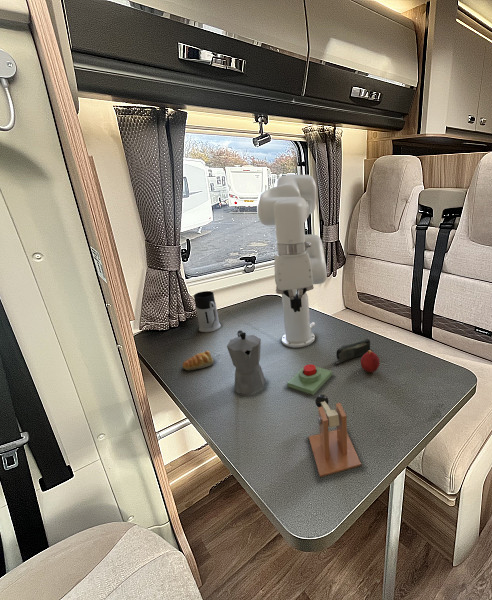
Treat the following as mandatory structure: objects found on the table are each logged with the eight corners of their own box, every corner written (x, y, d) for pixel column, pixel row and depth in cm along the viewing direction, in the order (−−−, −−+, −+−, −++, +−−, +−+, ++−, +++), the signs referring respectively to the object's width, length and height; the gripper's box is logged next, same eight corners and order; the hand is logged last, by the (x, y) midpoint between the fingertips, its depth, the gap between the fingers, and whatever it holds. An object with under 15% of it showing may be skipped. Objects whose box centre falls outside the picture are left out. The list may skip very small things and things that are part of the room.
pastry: (186, 374, 101) (184, 364, 100) (180, 366, 106) (178, 356, 105) (215, 364, 107) (213, 354, 105) (209, 356, 112) (207, 346, 110)
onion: (368, 365, 104) (369, 343, 101) (382, 372, 100) (383, 349, 97) (357, 372, 100) (356, 350, 97) (371, 380, 96) (371, 357, 93)
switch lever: (314, 406, 78) (313, 394, 78) (327, 404, 79) (325, 391, 79) (327, 430, 66) (325, 415, 65) (342, 426, 66) (340, 412, 66)
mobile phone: (366, 336, 112) (331, 348, 104) (372, 339, 110) (337, 352, 102) (366, 349, 114) (332, 361, 106) (371, 352, 112) (337, 365, 104)
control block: (308, 369, 102) (307, 359, 101) (332, 377, 98) (331, 366, 97) (287, 388, 93) (286, 377, 92) (313, 397, 89) (312, 385, 88)
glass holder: (215, 321, 140) (209, 289, 134) (230, 331, 130) (224, 297, 125) (195, 327, 134) (188, 294, 129) (209, 338, 124) (202, 303, 119)
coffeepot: (271, 394, 91) (264, 339, 84) (237, 404, 87) (228, 347, 81) (260, 367, 104) (253, 318, 98) (230, 375, 100) (221, 324, 94)
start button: (308, 368, 97) (307, 363, 96) (318, 371, 95) (317, 366, 94) (301, 374, 94) (301, 369, 93) (311, 377, 92) (311, 372, 92)
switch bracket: (308, 440, 75) (305, 399, 70) (345, 431, 77) (344, 391, 73) (320, 480, 65) (317, 435, 60) (361, 468, 67) (361, 424, 63)
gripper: (315, 242, 90) (318, 301, 97) (262, 247, 86) (269, 308, 93) (322, 248, 84) (324, 311, 91) (264, 254, 80) (272, 319, 87)
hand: (296, 309), depth 92 cm, fingers closed
